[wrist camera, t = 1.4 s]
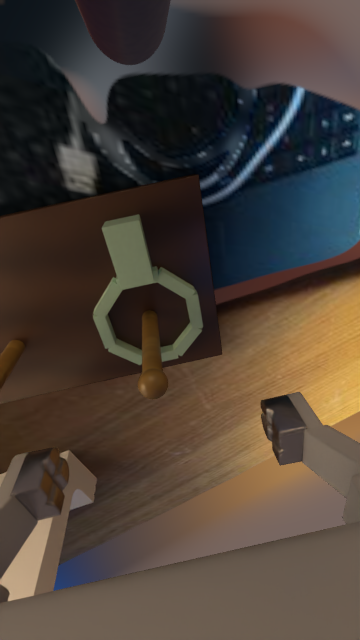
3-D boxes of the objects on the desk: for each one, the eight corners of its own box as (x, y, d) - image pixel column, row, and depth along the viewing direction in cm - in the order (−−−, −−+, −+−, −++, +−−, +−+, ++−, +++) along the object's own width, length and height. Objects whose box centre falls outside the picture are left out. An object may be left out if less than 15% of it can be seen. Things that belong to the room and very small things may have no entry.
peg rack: (-124, 242, 24) (-339, 312, 13) (195, 173, 24) (238, 187, 14) (-8, 397, 34) (-78, 510, 23) (219, 347, 34) (255, 435, 23)
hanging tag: (62, 230, 24) (54, 238, 22) (181, 204, 24) (185, 209, 22) (115, 365, 32) (113, 380, 30) (205, 345, 32) (210, 359, 30)
